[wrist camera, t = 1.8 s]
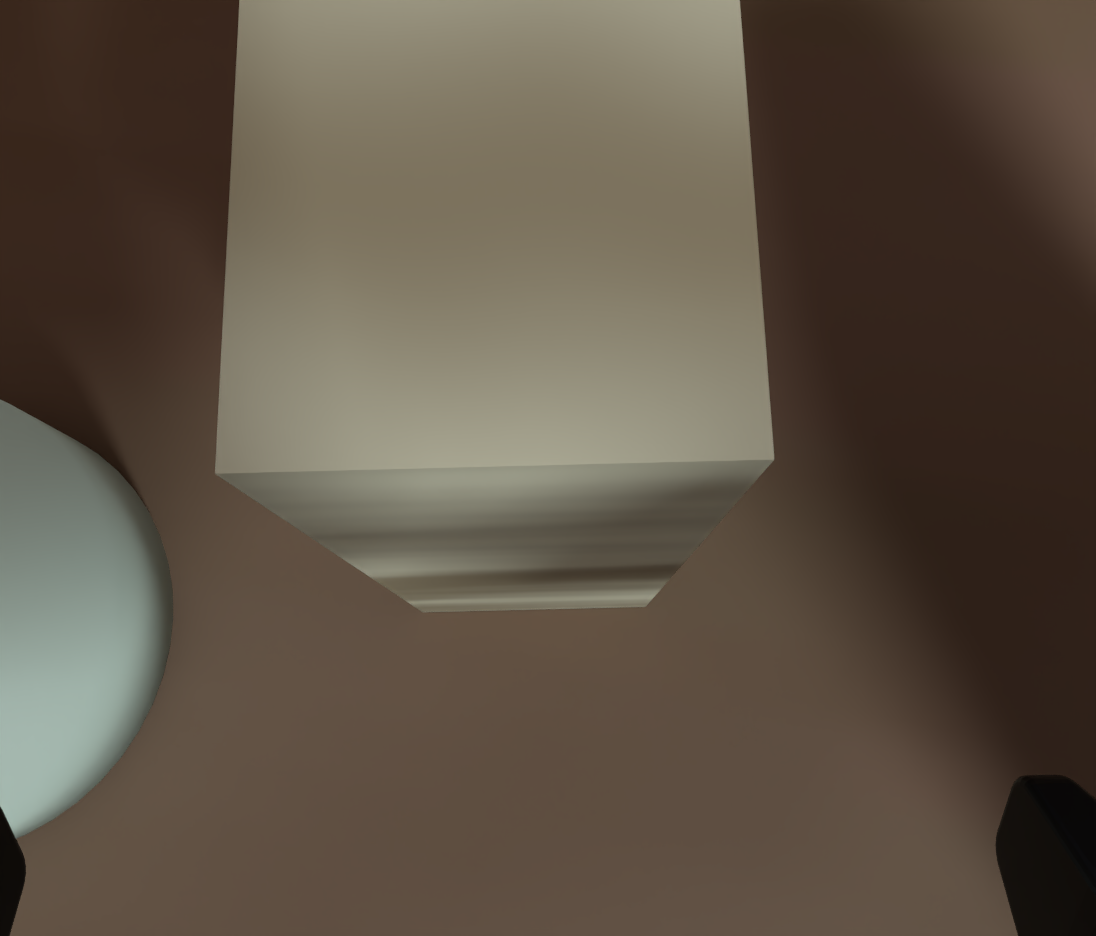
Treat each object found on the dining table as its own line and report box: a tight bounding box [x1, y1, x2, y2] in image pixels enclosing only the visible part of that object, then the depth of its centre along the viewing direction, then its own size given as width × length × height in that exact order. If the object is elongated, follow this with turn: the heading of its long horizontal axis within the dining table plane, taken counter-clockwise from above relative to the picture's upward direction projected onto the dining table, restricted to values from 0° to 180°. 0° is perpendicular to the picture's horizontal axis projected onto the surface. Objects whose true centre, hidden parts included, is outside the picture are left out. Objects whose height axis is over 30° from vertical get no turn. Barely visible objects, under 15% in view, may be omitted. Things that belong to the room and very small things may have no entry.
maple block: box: [215, 0, 774, 612], centre depth 15 cm, size 5×5×13 cm
